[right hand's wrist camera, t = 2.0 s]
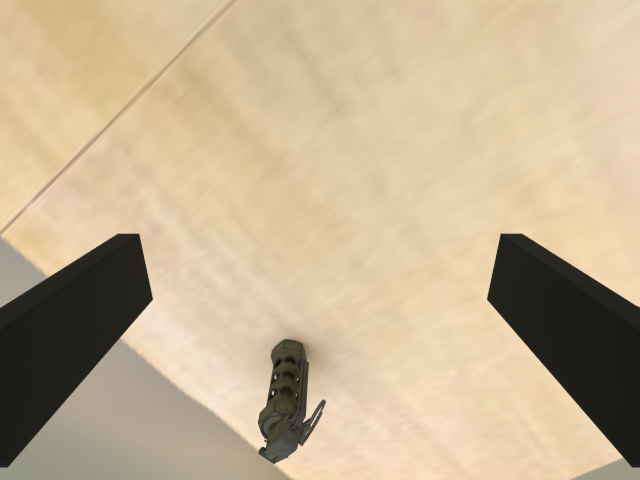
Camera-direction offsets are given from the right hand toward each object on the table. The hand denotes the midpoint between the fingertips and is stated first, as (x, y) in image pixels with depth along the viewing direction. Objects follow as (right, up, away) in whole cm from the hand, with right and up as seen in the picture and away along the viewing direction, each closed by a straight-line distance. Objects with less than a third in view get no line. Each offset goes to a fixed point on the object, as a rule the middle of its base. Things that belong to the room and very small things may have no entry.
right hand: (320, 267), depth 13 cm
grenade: (-3, -15, +36) cm, 39 cm away
